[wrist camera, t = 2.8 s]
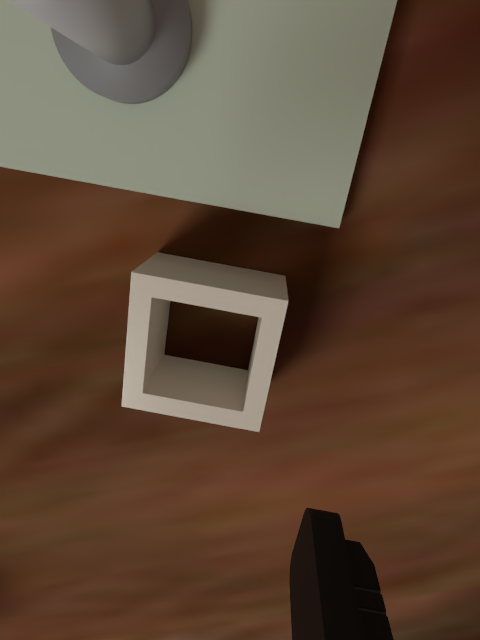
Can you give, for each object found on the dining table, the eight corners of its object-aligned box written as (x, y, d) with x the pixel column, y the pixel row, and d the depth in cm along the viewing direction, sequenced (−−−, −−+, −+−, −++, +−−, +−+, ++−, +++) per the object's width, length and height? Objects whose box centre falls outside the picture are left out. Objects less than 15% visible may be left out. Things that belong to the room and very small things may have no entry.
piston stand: (419, -109, 15) (572, -391, 7) (335, 225, 19) (376, 264, 12) (-123, -204, 15) (-522, -577, 7) (-84, 148, 19) (-310, 138, 12)
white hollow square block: (285, 275, 20) (288, 301, 16) (261, 387, 22) (259, 432, 19) (157, 252, 20) (131, 272, 16) (146, 366, 22) (121, 406, 19)
